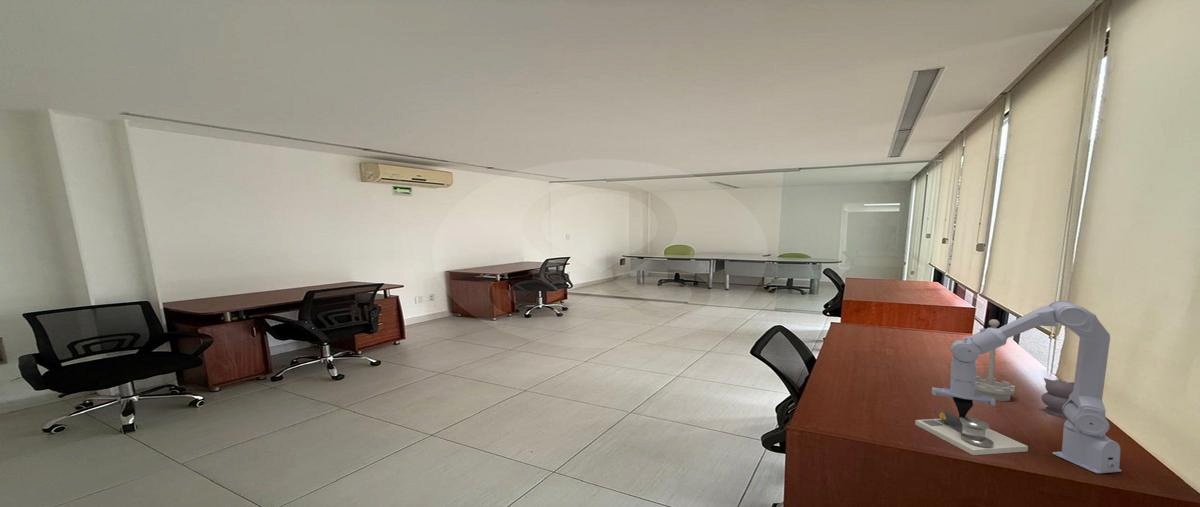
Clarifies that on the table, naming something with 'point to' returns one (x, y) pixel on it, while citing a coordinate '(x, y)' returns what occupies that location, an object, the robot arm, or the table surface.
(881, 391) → the table surface
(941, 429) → the stand
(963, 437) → the capstan
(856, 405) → the table surface
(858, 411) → the table surface
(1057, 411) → the grey wavy vase
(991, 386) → the flag stand
